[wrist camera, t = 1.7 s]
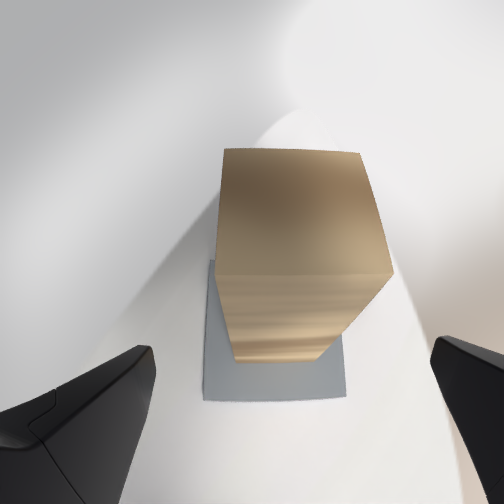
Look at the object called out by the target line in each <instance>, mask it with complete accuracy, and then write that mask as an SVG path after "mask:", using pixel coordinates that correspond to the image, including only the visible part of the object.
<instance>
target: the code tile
mask: <svg viewBox="0 0 504 504" xmlns="http://www.w3.org/2000/svg"><path fill="white" fill-rule="evenodd" d="M214 274H215V260H210V273H209V288H208V304H207V321H206V341H205V363H204V391H203V400H204V401H219V402H283V401H305V400H320V399H332V398H342V397H346V383H345V369H344V356H343V345H342V334H341V335H340V336H339V337H338V338H337V339H336V340H335V341H334V342H333V343H332V344H331V345H330V346H329V347H328V348H327V349H326V350H325V351H324V352H323V353H322V354H321V355H320V356H319V357H318V358H317V359H316V360H315V361H314V362H295V363H236V362H235V358H234V354H233V350H232V346H231V342H230V338H229V334H228V330H227V326H226V322H225V318H224V314H223V310H222V305H221V301H220V297H219V293H218V288H217V284H216V280H215V275H214Z"/></svg>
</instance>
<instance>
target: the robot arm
mask: <svg viewBox="0 0 504 504" xmlns="http://www.w3.org/2000/svg"><path fill="white" fill-rule="evenodd" d="M430 364H431V367H432V370H433V372H434V375H435V377H436V380H437V382H438V385H439V388H440V390H441V393H442V395H443V398H444V400H445V402H446V405H447V407H448V409H449V411H450V413H451V415H452V417H453V419H454V421H455V423H456V425H457V427H458V430H459V432H460V434H461V436H462V438H463V441H464V443H465V445H466V447H467V450H468V452H469V454H470V457H471V459H472V461H473V464H474V466H475V469H476V471H477V473H478V476H479V479H480V481H481V483H482V486H483V489H484V491H485V494H486V495H487V496H486V498H487V500H488V503H489V504H504V355H502V354H499V353H496V352H494V351H491V350H488V349H485V348H482V347H479V346H476V345H473V344H470V343H468V342H465V341H462V340H459V339H456V338H454V337H451V336H440V337H438V338H437V339H436V341H435V344H434V348H433V351H432V354H431V358H430ZM155 377H156V366H155V361H154V355H153V350H152V348H151V347H150V346H145V345H137V346H135V347H134V348H132V349H130V350H128V351H126V352H124V353H122V354H120V355H119V356H117V357H115V358H113V359H111V360H109V361H107V362H105V363H103V364H101V365H100V366H98V367H96V368H94V369H92V370H90V371H88V372H86V373H84V374H82V375H80V376H78V377H76V378H75V379H73V380H71V381H69V382H67V383H65V384H63V385H61V386H59V387H57V388H56V389H53V390H51V391H49V392H48V393H45V394H43V395H41V396H39V397H37V398H35V399H33V400H30V401H28V402H25V403H23V404H20V405H18V406H15V407H13V408H10V409H7V410H5V411H2V412H0V504H118V503H119V500H120V497H121V494H122V490H123V487H124V484H125V481H126V478H127V475H128V472H129V469H130V465H131V462H132V459H133V456H134V453H135V450H136V447H137V444H138V441H139V438H140V436H141V433H142V430H143V427H144V424H145V421H146V418H147V414H148V410H149V405H150V400H151V396H152V391H153V386H154V382H155Z"/></svg>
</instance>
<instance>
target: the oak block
mask: <svg viewBox="0 0 504 504" xmlns="http://www.w3.org/2000/svg"><path fill="white" fill-rule="evenodd" d="M393 274H394V271H393V267H392V263H391V258H390V254H389V250H388V246H387V242H386V238H385V234H384V230H383V227H382V223H381V219H380V216H379V212H378V209H377V206H376V202H375V198H374V195H373V192H372V189H371V186H370V183H369V179H368V176H367V173H366V170H365V167H364V164H363V161H362V159H361V155H360V153H353V152H340V151H324V150H303V149H266V148H237V149H236V148H235V149H224V157H223V168H222V180H221V191H220V203H219V216H218V229H217V243H216V258H215V274H214V275H215V280H216V284H217V288H218V293H219V297H220V301H221V305H222V310H223V314H224V318H225V322H226V326H227V330H228V334H229V338H230V342H231V346H232V350H233V354H234V358H235V362H236V363H295V362H314V361H315V360H316V359H317V358H318V357H319V356H320V355H321V354H322V353H323V352H324V351H325V350H326V349H327V348H328V347H329V346H330V345H331V344H332V343H333V342H334V341H335V340H336V339H337V338H338V337H339V336H340V335H341V334H342V333H343V331H344V330H345V329H346V328H347V327H348V326H349V325H350V324H351V323H352V322H353V321H354V320H355V318H356V317H357V316H358V315H359V314H360V313H361V312H362V311H363V309H364V308H365V307H366V306H367V305H368V304H369V303H370V301H371V300H372V299H373V298H374V297H375V296H376V295H377V293H378V292H379V291H380V290H381V289H382V287H383V286H384V285H385V284H386V283H387V281H388V280H389V279H390V278H391V277H392V275H393Z"/></svg>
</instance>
